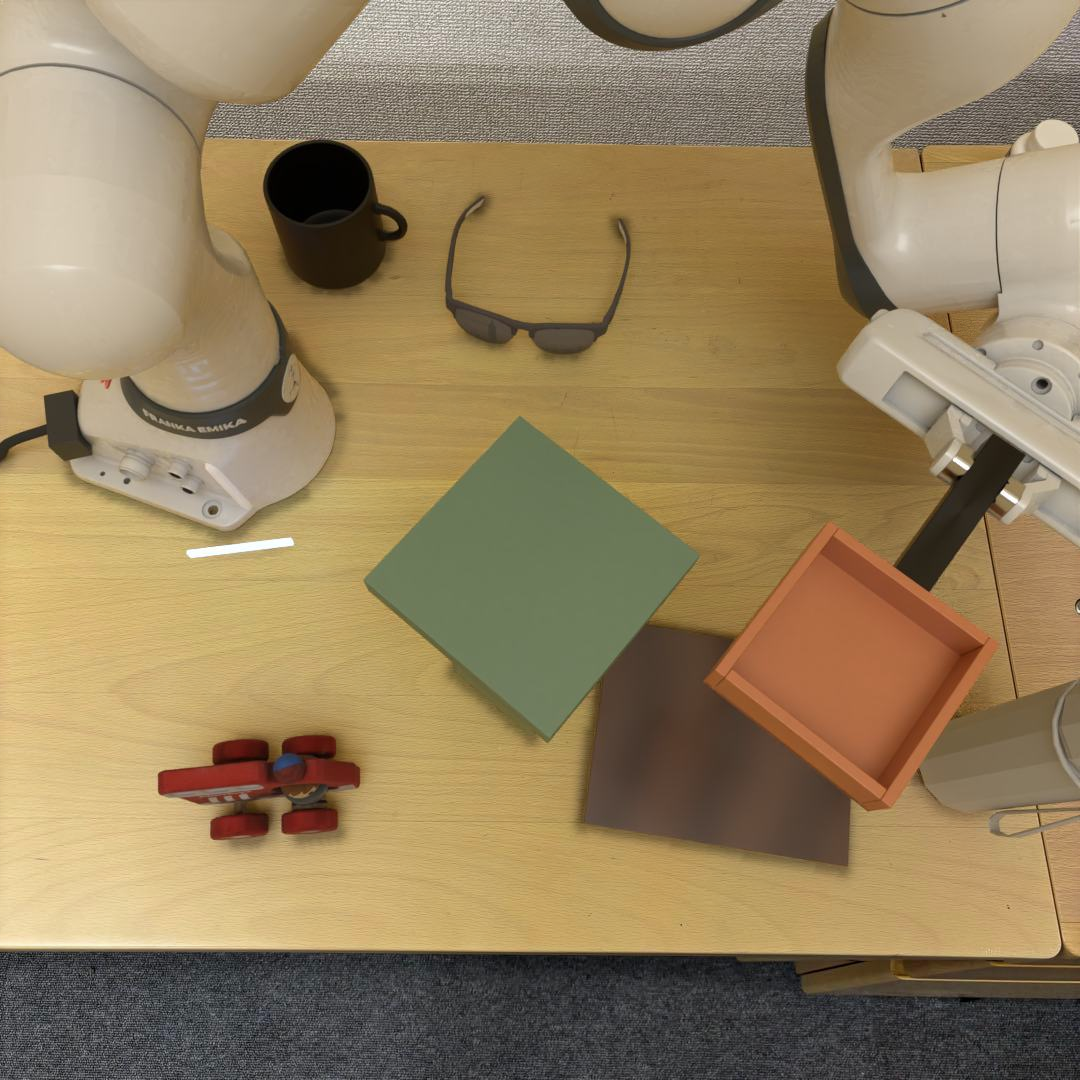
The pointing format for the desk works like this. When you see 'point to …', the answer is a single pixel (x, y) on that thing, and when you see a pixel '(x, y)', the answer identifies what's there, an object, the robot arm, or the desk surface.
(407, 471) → the desk surface
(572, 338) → the sunglasses
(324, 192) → the mug
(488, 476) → the stand
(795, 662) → the pan
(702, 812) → the board
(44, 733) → the desk surface
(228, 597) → the desk surface
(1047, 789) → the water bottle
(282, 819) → the toy fire truck
